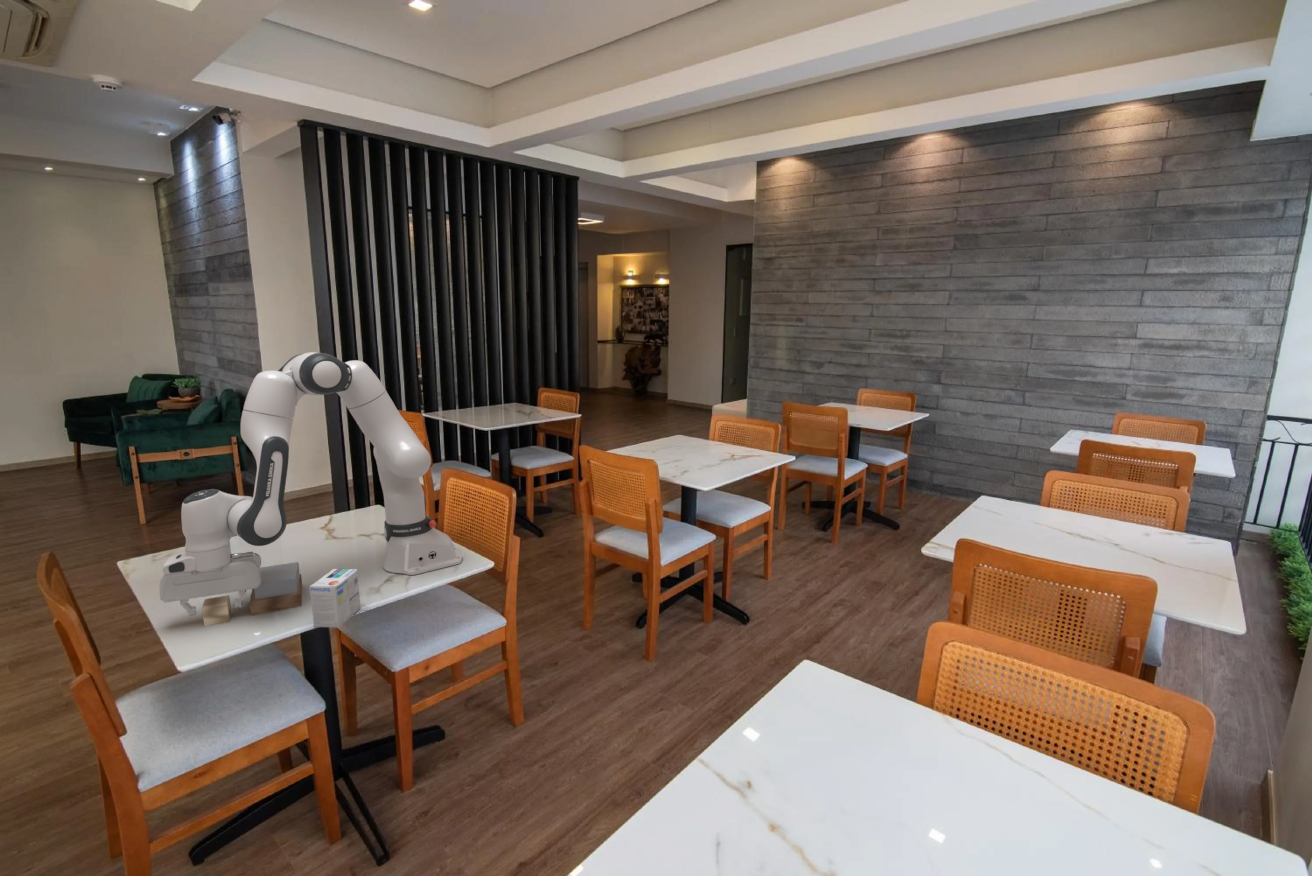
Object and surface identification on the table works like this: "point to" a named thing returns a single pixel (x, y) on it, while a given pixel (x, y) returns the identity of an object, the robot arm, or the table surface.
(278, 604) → the walnut base slab
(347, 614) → the light bulb box
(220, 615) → the birch cube
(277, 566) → the slate grey block
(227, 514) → the robot arm
